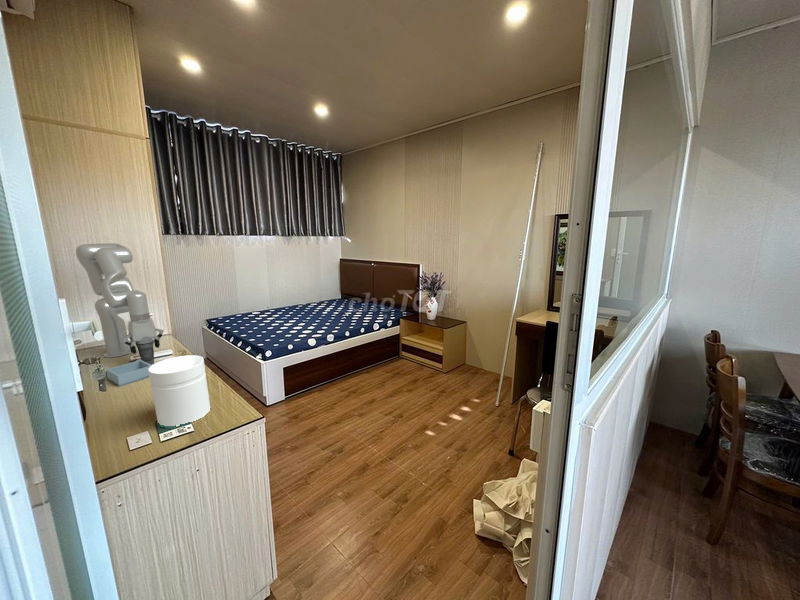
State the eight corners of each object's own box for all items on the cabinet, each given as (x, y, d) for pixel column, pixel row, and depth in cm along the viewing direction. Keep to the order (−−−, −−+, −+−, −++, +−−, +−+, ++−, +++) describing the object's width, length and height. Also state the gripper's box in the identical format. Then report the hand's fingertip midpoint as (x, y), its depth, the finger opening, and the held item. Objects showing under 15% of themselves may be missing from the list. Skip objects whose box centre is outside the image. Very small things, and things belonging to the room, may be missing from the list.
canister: (153, 416, 115) (143, 364, 111) (202, 399, 126) (195, 351, 122) (163, 434, 104) (153, 378, 100) (217, 414, 116) (209, 363, 111)
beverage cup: (149, 366, 158) (142, 328, 153) (135, 366, 158) (128, 328, 154) (161, 361, 165) (154, 324, 161) (147, 361, 165) (140, 324, 161)
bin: (108, 379, 144) (106, 369, 143) (142, 369, 155) (140, 359, 154) (119, 386, 137) (117, 376, 136) (154, 375, 148) (153, 365, 147)
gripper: (157, 312, 165) (162, 343, 169) (114, 320, 151) (121, 354, 154) (163, 314, 161) (169, 346, 165) (121, 322, 147) (127, 357, 151)
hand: (146, 350), depth 160 cm, fingers open, 9 cm apart
